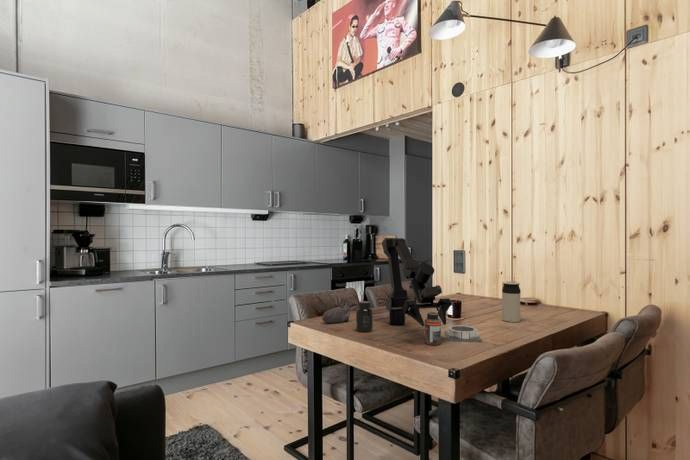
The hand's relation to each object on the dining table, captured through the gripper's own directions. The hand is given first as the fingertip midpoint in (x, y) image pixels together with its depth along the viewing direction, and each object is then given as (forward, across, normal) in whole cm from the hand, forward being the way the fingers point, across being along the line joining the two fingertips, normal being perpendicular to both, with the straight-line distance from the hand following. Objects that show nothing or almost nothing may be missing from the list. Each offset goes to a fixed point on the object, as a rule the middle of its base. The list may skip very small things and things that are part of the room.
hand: (434, 325), depth 152 cm
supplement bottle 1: (-14, -18, +24) cm, 33 cm away
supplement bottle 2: (+4, 0, +6) cm, 8 cm away
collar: (+1, +16, +9) cm, 18 cm away
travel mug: (-14, +55, +24) cm, 61 cm away
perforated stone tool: (-26, -25, +36) cm, 52 cm away
